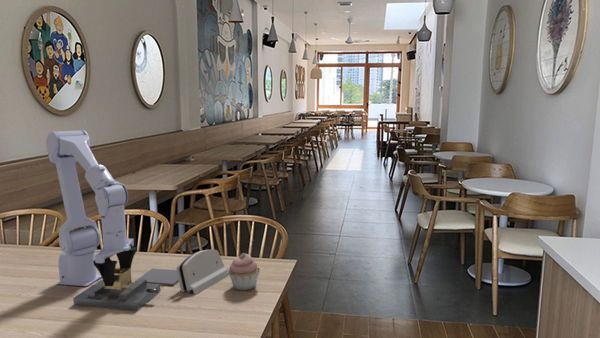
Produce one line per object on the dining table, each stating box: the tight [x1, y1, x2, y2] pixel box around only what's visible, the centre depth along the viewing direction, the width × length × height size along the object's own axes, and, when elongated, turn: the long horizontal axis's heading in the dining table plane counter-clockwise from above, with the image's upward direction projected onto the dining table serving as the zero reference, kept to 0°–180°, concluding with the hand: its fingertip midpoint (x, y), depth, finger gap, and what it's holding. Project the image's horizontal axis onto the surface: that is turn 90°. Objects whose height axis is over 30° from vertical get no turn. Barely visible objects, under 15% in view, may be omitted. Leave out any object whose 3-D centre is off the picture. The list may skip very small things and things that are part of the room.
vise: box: [73, 273, 162, 312], centre depth 121 cm, size 20×12×6 cm, turn 80°
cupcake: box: [227, 252, 261, 291], centre depth 128 cm, size 9×9×10 cm
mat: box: [134, 268, 179, 287], centre depth 135 cm, size 12×10×1 cm
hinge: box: [176, 249, 229, 295], centre depth 131 cm, size 17×5×10 cm, turn 153°
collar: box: [103, 266, 133, 290], centre depth 121 cm, size 5×5×4 cm
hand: (117, 279), depth 121 cm, fingers open, 7 cm apart
